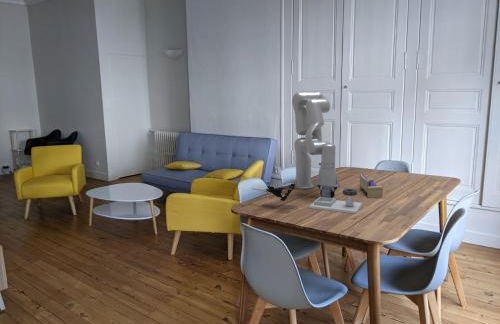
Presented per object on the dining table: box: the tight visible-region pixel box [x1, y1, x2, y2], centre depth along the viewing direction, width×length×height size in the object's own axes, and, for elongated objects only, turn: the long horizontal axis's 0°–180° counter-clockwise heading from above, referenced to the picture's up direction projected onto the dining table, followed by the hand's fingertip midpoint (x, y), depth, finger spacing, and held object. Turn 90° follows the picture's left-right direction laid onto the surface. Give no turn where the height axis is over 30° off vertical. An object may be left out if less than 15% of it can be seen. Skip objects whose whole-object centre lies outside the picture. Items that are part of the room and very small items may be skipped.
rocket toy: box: [250, 183, 295, 202], centre depth 206 cm, size 14×6×23 cm
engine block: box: [322, 186, 332, 198], centre depth 217 cm, size 5×6×7 cm
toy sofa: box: [359, 173, 384, 199], centre depth 227 cm, size 21×9×10 cm, turn 177°
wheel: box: [342, 188, 358, 197], centre depth 198 cm, size 7×7×2 cm
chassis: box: [308, 196, 363, 214], centre depth 202 cm, size 24×16×6 cm, turn 63°
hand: (327, 196), depth 218 cm, fingers closed on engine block, 5 cm apart
